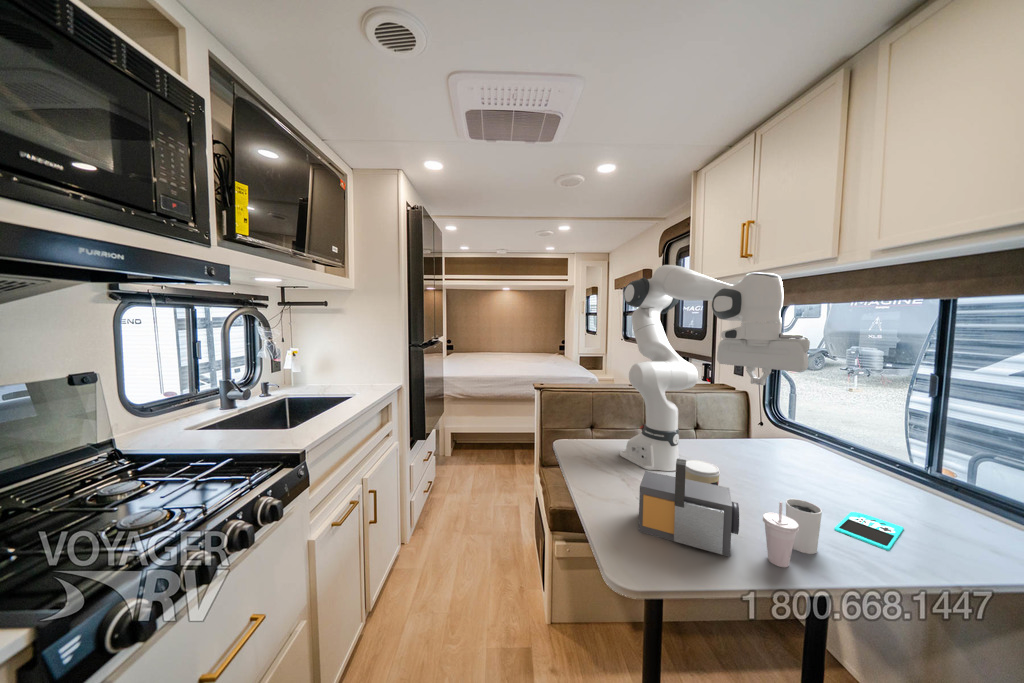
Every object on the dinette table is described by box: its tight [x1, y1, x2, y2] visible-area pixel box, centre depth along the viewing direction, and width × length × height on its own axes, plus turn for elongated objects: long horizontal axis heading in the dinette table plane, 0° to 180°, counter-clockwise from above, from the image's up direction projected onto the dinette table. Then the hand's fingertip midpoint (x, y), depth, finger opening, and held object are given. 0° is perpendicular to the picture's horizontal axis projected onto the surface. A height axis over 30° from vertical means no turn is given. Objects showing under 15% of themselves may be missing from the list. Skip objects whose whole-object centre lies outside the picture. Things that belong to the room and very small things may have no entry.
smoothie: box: [762, 501, 799, 568], centre depth 78 cm, size 6×6×14 cm
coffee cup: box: [685, 459, 721, 486], centre depth 101 cm, size 9×9×12 cm
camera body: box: [638, 470, 740, 558], centre depth 88 cm, size 22×10×12 cm, turn 61°
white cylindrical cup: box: [785, 498, 823, 555], centre depth 83 cm, size 7×7×10 cm
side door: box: [673, 458, 724, 556], centre depth 80 cm, size 10×4×20 cm, turn 61°
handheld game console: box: [833, 511, 904, 552], centre depth 90 cm, size 10×16×1 cm, turn 123°
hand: (757, 384), depth 93 cm, fingers closed
